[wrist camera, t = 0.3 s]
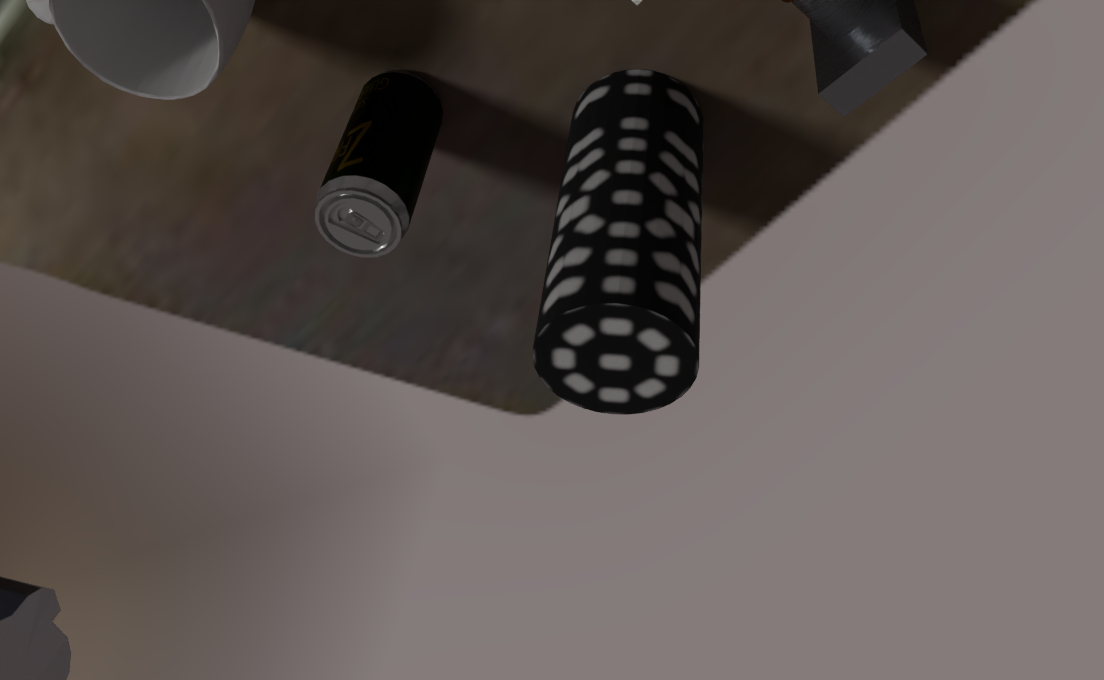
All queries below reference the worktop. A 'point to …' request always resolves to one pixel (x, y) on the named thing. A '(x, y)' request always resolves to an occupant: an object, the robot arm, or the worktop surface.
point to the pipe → (861, 46)
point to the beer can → (379, 165)
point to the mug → (150, 40)
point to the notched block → (636, 1)
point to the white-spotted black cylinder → (626, 249)
